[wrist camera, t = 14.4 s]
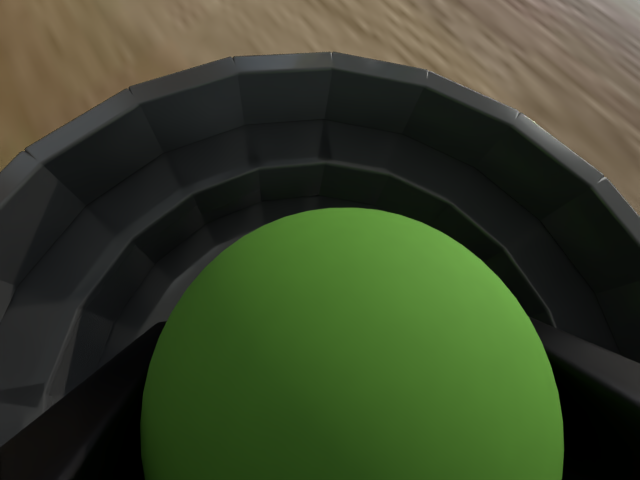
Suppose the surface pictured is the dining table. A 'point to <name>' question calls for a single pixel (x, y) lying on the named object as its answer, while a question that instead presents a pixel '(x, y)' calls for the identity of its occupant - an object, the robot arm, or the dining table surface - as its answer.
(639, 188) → the dining table surface
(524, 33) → the dining table surface
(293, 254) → the ball
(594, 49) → the dining table surface
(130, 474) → the robot arm
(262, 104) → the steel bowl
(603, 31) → the dining table surface
